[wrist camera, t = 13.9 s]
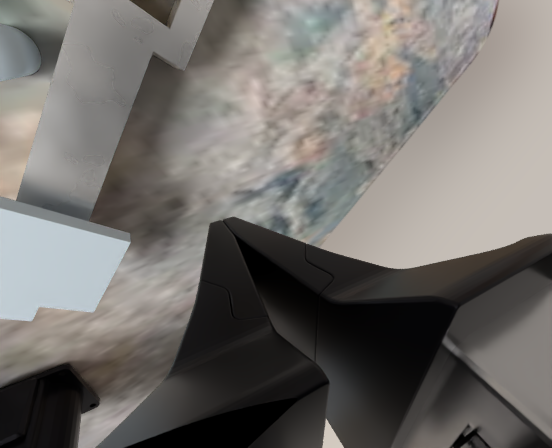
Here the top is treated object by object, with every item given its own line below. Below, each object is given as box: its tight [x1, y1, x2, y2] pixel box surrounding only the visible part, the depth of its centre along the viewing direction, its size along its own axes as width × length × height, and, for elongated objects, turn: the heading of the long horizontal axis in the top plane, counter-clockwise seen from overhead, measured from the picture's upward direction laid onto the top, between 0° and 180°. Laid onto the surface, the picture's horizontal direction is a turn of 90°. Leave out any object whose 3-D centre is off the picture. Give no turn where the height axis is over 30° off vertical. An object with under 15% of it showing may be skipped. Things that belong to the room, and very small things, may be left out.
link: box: [16, 0, 214, 221], centre depth 13 cm, size 18×6×3 cm, turn 146°
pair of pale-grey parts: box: [0, 24, 131, 321], centre depth 13 cm, size 16×10×5 cm, turn 3°
